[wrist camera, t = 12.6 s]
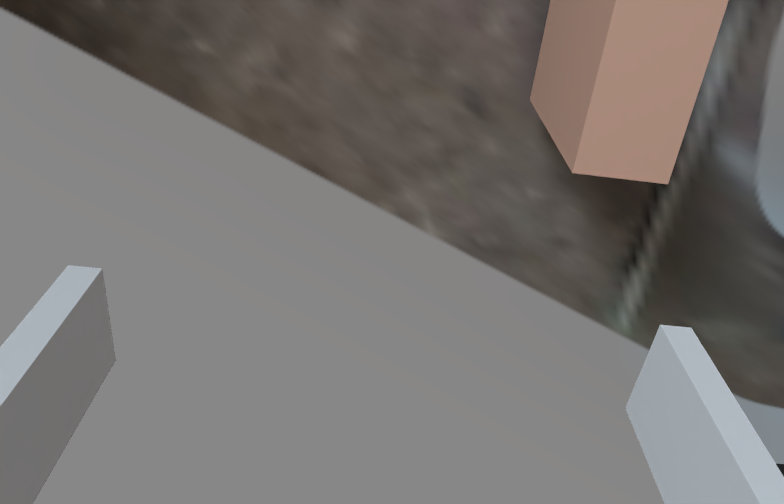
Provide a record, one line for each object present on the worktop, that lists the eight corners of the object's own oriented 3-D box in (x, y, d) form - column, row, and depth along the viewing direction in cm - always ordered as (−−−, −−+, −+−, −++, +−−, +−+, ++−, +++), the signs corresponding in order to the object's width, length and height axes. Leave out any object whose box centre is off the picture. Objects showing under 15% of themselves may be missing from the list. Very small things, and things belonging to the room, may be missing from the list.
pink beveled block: (529, 100, 37) (572, 173, 26) (561, -52, 33) (625, -38, 23) (598, 108, 37) (667, 184, 27) (637, -43, 33) (736, -25, 23)
